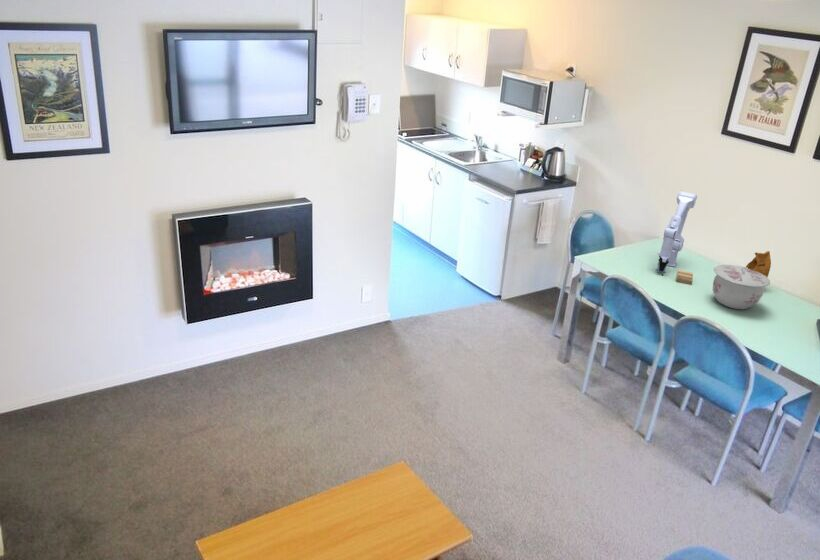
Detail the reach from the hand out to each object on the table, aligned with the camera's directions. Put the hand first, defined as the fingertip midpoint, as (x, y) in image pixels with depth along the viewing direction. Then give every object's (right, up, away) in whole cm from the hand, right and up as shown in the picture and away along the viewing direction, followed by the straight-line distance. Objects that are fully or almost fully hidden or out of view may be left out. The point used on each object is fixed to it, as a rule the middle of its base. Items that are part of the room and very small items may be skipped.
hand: (661, 269), depth 388 cm
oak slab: (+9, -5, -10) cm, 14 cm away
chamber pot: (+26, -19, -32) cm, 46 cm away
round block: (0, -1, +1) cm, 1 cm away
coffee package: (+47, -11, -10) cm, 49 cm away
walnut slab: (+9, -7, -9) cm, 15 cm away
